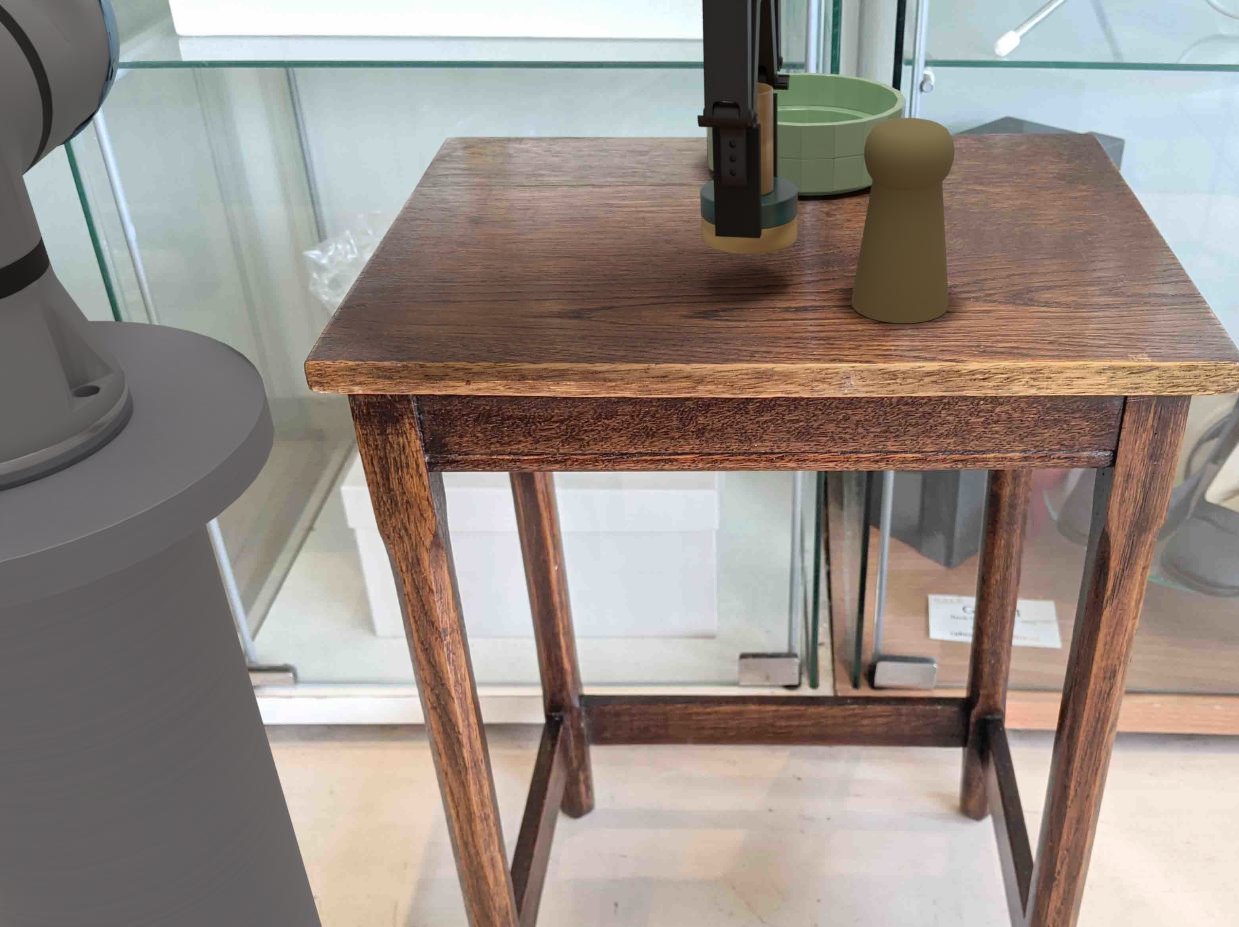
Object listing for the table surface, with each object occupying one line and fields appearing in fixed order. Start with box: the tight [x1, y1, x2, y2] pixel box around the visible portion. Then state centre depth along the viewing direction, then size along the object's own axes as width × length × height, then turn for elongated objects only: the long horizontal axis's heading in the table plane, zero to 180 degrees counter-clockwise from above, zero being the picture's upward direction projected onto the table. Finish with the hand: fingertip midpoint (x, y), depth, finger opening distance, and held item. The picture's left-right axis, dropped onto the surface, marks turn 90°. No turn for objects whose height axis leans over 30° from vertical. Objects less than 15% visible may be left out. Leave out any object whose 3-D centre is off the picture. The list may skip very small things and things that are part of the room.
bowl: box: [705, 72, 907, 197], centre depth 101 cm, size 15×15×6 cm
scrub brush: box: [699, 82, 799, 255], centre depth 79 cm, size 6×6×9 cm
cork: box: [850, 117, 956, 324], centre depth 77 cm, size 6×6×11 cm
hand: (747, 215), depth 81 cm, fingers closed on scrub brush, 6 cm apart
